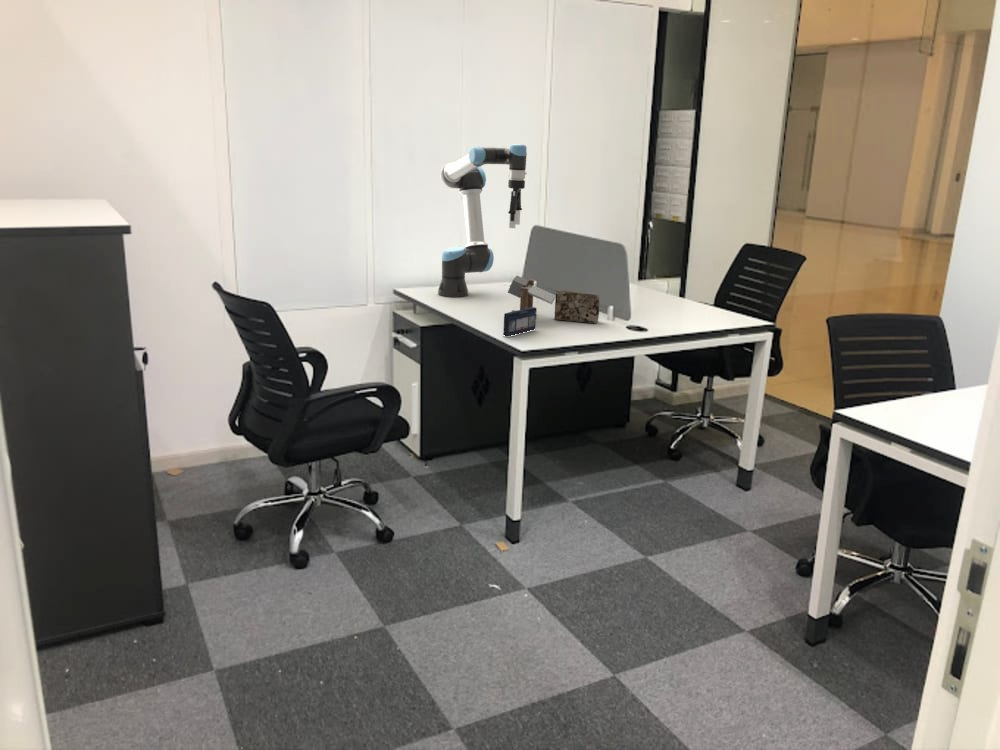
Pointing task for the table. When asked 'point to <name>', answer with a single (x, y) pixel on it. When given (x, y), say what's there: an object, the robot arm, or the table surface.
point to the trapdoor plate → (530, 290)
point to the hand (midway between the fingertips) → (514, 226)
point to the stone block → (577, 306)
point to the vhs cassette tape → (519, 321)
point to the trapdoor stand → (526, 297)
